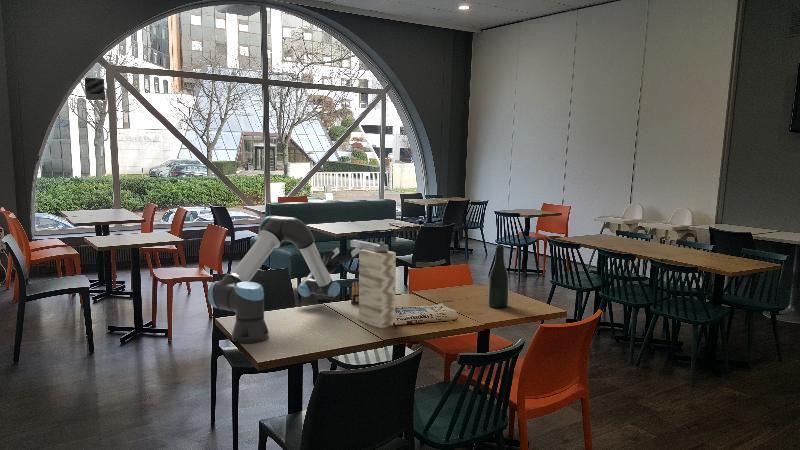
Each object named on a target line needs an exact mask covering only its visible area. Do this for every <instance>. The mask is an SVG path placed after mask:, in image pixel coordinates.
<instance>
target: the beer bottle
mask: <svg viewBox="0 0 800 450" xmlns="http://www.w3.org/2000/svg"><path fill="white" fill-rule="evenodd" d="M494 257H495V258H494V263H493V266H492V268H491V270H490V274H489V279H488V297H487V300H488V301H487V305H488V307H490V308H493V309H507V308H508V307H509V296H510V295H509V291H510V290H509V288H510V286H509V285H510V284H509V281H510V279H509V278H510V277H509V272H508V270H507V268H506V267H507V266H506V263H505V247H504V244H502V243H499V244H496V247H495V256H494Z"/></svg>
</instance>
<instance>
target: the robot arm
mask: <svg viewBox="0 0 800 450" xmlns="http://www.w3.org/2000/svg"><path fill="white" fill-rule="evenodd" d="M315 241H316V239H315V237H314V235H313V233H312V231H311V229H309V227H308V226H307V225H306V224H305V223H304V222H303V221H302V220H300V218H297V217H294V216H293V217H292V216H281V215H279V216H278V215H268V216H265V217H264V218H263V219H261V221H260V223H259V227H258V238H257V239H256V241H255V242H254V244H252V246H251V247H250V249H248V252H246V254H245V255H244V256H243V258H242V259H241V260H240V262H239V263H238V264H237V265H236V267H235V268H234V269H233V271H231V273H227V274H225V275H224V276H223V277H222V279H221V280H216V281H214V282H212V283H211V284H210V286H209V287H208V291H207V300H208V302H209V304H210V306H212V307H213V308H214V309H218V310H223V311H229V312H234V313H235V323H234V326H233V330H232V332H231V341H233V342H234V343H237V344H238V343H239V344H255V343H256V344H257V343H261V342H263V341H266V340H268V339H269V338H270V337H269V336H270V334H269V332H270V331H269V329H268V326H267V323H266V321H265V292H264V287H263V286H262V284H260V283H258V282H254V281H251V280H252V279H253V277H254V276H255V275H256V273H257V272H258V271H259V270H260V268H261V267H262V265H263V264H264V262H265V261H266V260H267V259H268V257H269V256H270V255H271V253H272V252H273V250H274V249H278V248H280V247H281V246H282V244H283V242H288V243H289V242H290V243H292V244H293V245H294V246H295V248H296V249H297V250H299V251H300V253H301V255H302V257H303V259H304V261H305V263H306V265H307V267H308V268H309V270H310V272H309V273H308V275H306V277H305V278H304V279H303V280H302V281H301V282H300V283H299V284H298V286H297V292H298V293H299V294H300V296H301V297H304V298H307V297H310V296H311V294H312V295H313V294H314V295H320V296H327V297H334V298H335V297H337V296H338V295H339V294H340V291H341V285H340V283H339V282H337V281H333V279H332V276H331V274H332V273H333V272H335V271H336V270H337V268H338V266H339V265H341V264H342V265H343V266H344V265H345V264H347V263H349V262H351V261H352V260H354V259H356V258H358V256H357V255H359V250H361V248H356V247H354V249H352V250H351V252H349V253H347V254H345V255H342V256H341V255H340V256H338V254H340V253H341V252H340V249H339V247H336V248H334V249H333V250H332V251H331V252H329V253H327V254H326V253H324V254H323V257H321V254H320V252H319V250H318V248H317V246H316V244H315ZM336 256H338V257H336Z"/></svg>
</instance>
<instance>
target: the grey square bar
mask: <svg viewBox="0 0 800 450" xmlns="http://www.w3.org/2000/svg"><path fill="white" fill-rule="evenodd" d="M350 247H352V248H359V249H360V250H362V249H365V250H370V251H374V252H375V253H387V252H388V251H389V245H388V244H385V242H384V241H379V242H378V243H375V242H368V241H363V240H360V239H350Z"/></svg>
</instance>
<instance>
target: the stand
mask: <svg viewBox="0 0 800 450" xmlns="http://www.w3.org/2000/svg"><path fill="white" fill-rule="evenodd" d="M396 256H397V253H396V252H395V251H390V250H388V252H387V253H375V252H374V251H370V250H365V249H360V250H359V253H358V283H359V304H358V322H359V321H360V322H361V323H365V324H367V325H370V326H373V327H376V328H377V329H383V328H387V327H391V326H394V325H393V322H395V323H396V287H397V286H396V284H397V283H396V280H397V278H396V275H397V274H396V273H397V271H396V269H397V267H396V266H397V264H396V263H397V262H396V261H397V257H396Z"/></svg>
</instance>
